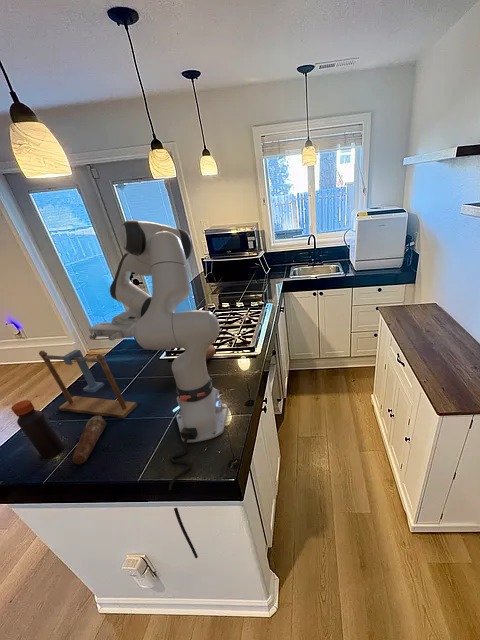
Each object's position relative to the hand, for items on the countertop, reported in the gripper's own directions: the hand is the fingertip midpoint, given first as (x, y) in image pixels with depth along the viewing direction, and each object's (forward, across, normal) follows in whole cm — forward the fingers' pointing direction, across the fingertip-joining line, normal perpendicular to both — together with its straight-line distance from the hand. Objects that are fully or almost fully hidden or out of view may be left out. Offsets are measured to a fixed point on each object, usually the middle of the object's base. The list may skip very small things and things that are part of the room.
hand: (100, 338), depth 124 cm
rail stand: (+14, 0, +24) cm, 28 cm away
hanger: (+13, 0, +16) cm, 21 cm away
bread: (+33, +14, +24) cm, 43 cm away
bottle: (+38, +2, +24) cm, 45 cm away
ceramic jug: (-30, +23, +24) cm, 44 cm away
